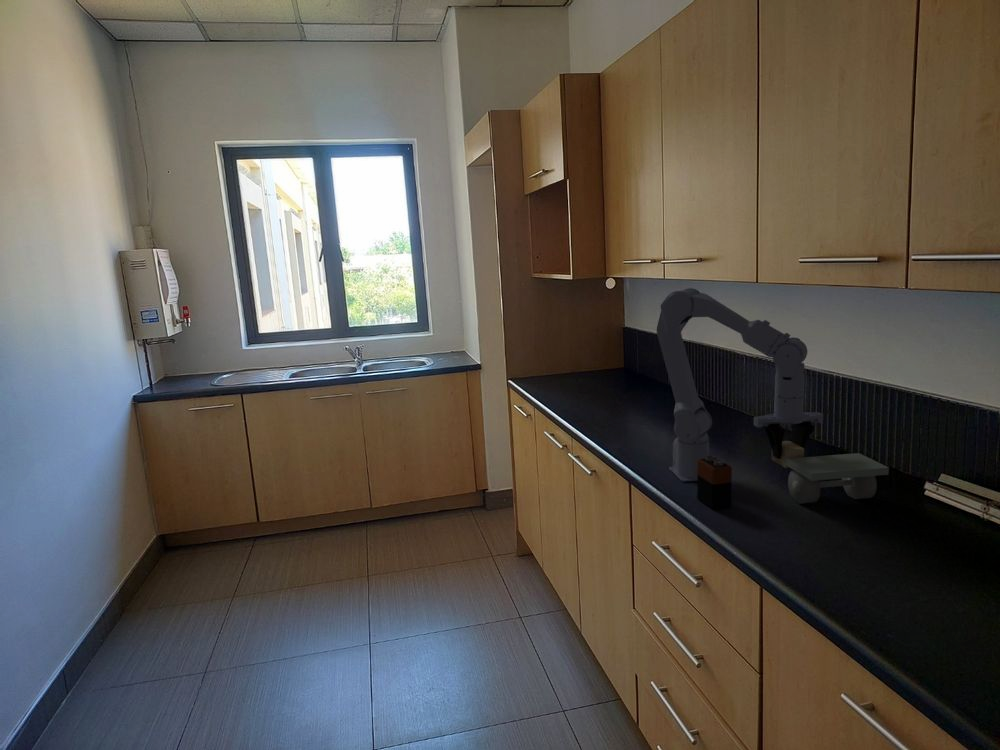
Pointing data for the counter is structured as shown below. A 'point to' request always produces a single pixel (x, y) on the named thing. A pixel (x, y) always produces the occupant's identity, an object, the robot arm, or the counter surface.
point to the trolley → (833, 476)
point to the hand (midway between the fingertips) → (787, 456)
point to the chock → (789, 453)
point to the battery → (714, 482)
